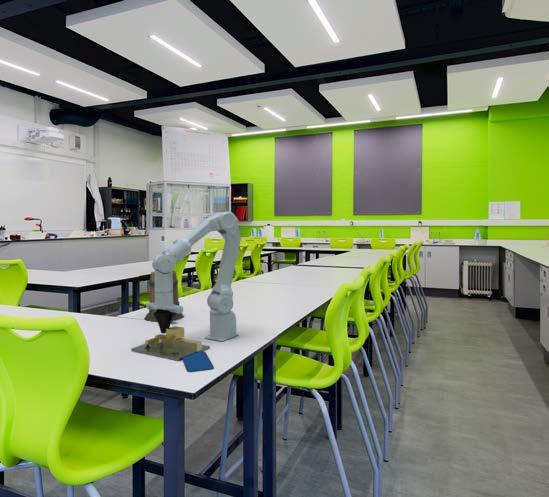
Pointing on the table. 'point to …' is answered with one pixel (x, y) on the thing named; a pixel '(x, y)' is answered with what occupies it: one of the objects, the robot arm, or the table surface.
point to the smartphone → (197, 362)
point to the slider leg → (172, 334)
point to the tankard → (150, 315)
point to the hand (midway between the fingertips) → (164, 332)
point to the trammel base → (170, 348)
